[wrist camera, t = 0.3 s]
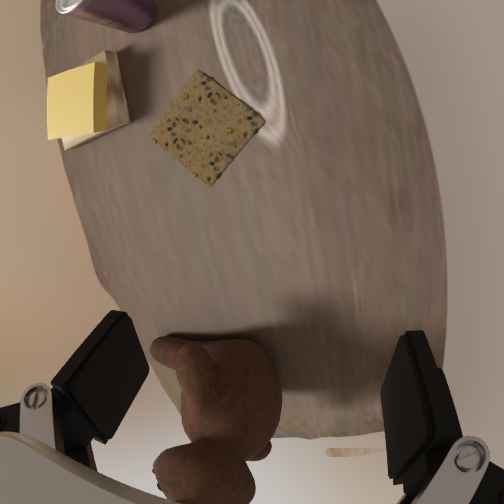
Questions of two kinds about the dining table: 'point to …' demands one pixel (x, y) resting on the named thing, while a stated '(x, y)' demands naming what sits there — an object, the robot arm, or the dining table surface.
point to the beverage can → (111, 12)
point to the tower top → (77, 101)
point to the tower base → (115, 101)
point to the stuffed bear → (218, 418)
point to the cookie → (205, 127)
